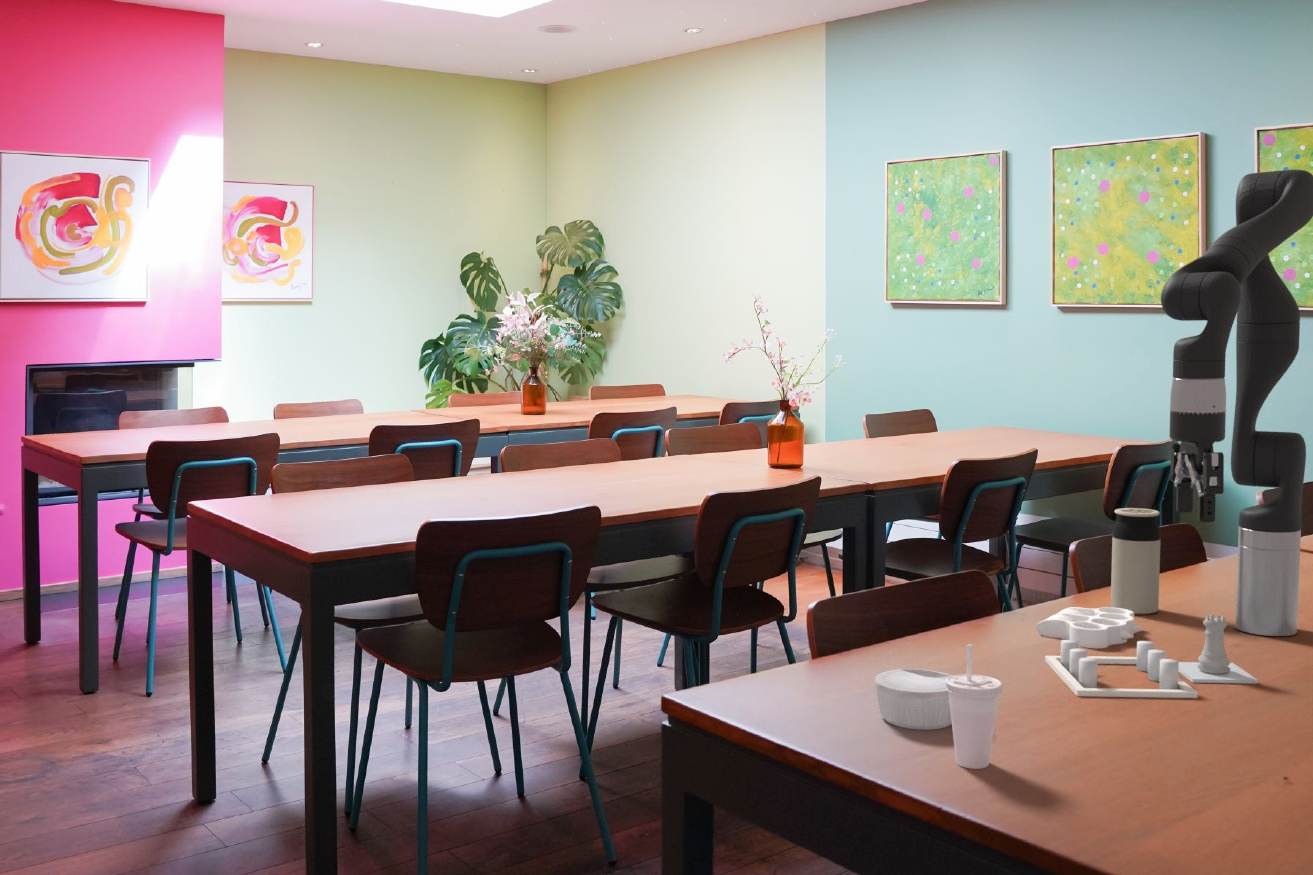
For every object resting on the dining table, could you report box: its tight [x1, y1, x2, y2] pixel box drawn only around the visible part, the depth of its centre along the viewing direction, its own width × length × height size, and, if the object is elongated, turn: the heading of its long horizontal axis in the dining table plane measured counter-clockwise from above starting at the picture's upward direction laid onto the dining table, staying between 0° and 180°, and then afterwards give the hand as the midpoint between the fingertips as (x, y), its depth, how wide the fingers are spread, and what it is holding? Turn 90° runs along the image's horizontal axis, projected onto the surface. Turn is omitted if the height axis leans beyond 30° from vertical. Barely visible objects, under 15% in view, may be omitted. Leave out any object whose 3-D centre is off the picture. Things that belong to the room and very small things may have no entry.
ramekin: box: [874, 668, 953, 731], centre depth 155 cm, size 11×11×5 cm
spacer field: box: [1044, 639, 1199, 699], centre depth 173 cm, size 18×16×4 cm
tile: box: [1178, 661, 1259, 685], centre depth 175 cm, size 9×9×1 cm
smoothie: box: [945, 643, 1003, 770], centre depth 139 cm, size 6×6×14 cm
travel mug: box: [1110, 507, 1162, 616], centre depth 215 cm, size 8×8×18 cm
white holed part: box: [1036, 606, 1145, 649], centre depth 198 cm, size 3×18×15 cm
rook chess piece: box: [1197, 614, 1231, 674], centre depth 174 cm, size 4×4×8 cm
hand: (1194, 516), depth 179 cm, fingers open, 8 cm apart
